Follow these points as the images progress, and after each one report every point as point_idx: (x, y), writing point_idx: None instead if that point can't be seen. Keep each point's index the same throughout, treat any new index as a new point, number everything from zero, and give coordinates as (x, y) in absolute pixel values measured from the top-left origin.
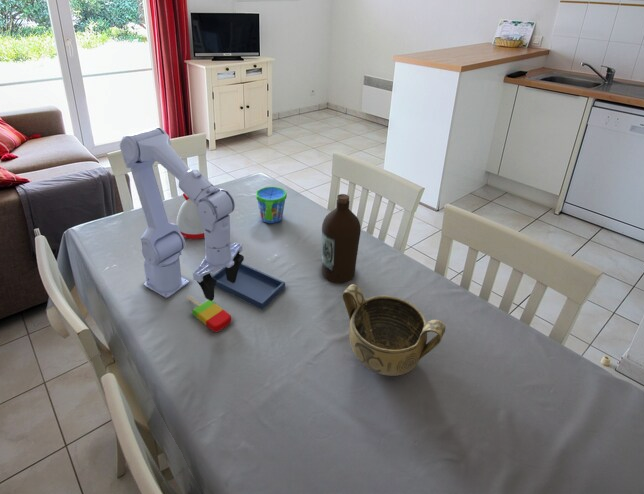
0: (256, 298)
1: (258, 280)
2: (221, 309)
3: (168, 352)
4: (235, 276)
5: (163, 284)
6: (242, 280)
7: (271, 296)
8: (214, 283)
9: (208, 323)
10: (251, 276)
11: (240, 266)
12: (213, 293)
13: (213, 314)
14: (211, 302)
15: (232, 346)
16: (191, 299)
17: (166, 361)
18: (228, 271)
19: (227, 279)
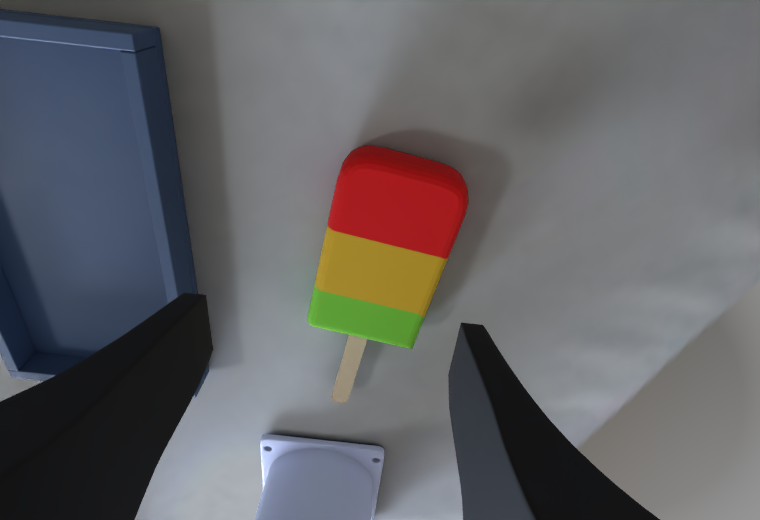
0: (116, 119)
1: (1, 194)
2: (335, 238)
3: (654, 290)
4: (155, 331)
5: (363, 507)
6: (77, 267)
7: (25, 18)
8: (551, 497)
9: (454, 239)
10: (15, 244)
11: (16, 328)
12: (490, 372)
13: (389, 253)
14: (322, 307)
15: (519, 21)
16: (347, 382)
17: (709, 267)
18: (163, 415)
19: (208, 354)
